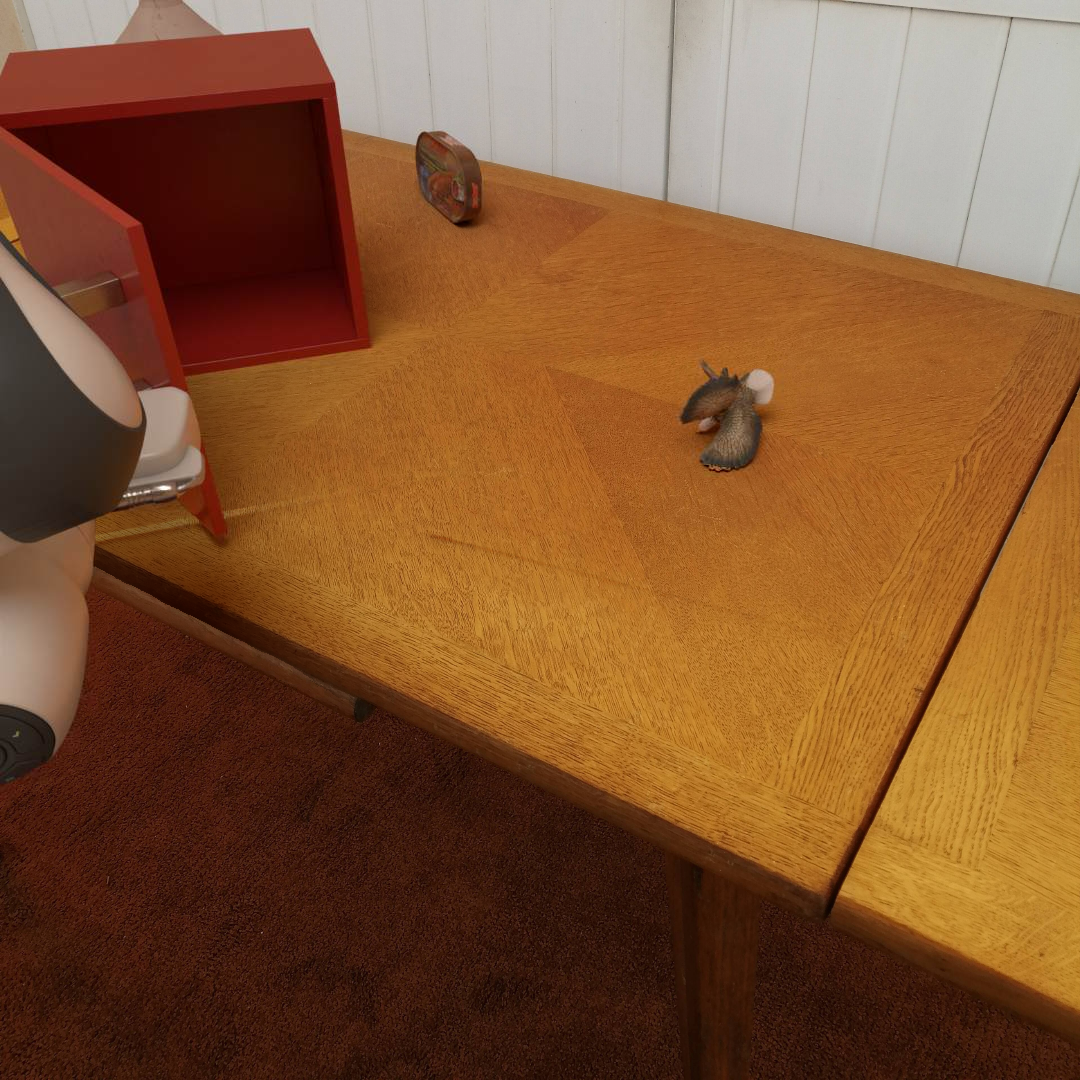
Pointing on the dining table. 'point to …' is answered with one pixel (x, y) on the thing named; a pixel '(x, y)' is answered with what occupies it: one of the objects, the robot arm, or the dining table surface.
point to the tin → (449, 176)
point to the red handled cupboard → (100, 279)
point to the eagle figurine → (729, 414)
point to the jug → (165, 22)
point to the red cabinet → (213, 182)
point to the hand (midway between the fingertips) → (28, 394)
